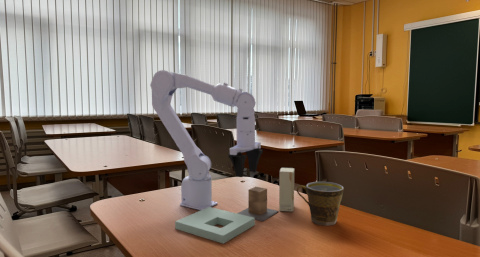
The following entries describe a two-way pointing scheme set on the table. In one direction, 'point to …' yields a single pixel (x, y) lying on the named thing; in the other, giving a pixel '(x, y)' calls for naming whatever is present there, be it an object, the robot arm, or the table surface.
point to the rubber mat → (259, 217)
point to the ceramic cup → (323, 201)
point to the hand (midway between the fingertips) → (246, 174)
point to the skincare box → (286, 189)
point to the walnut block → (257, 200)
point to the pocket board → (209, 217)
